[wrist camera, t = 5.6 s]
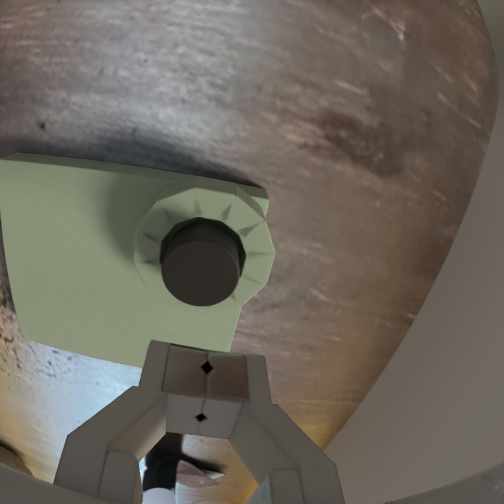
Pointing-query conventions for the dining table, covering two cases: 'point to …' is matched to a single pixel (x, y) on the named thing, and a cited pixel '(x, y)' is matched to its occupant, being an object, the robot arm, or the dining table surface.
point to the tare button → (201, 264)
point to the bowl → (13, 461)
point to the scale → (119, 253)
